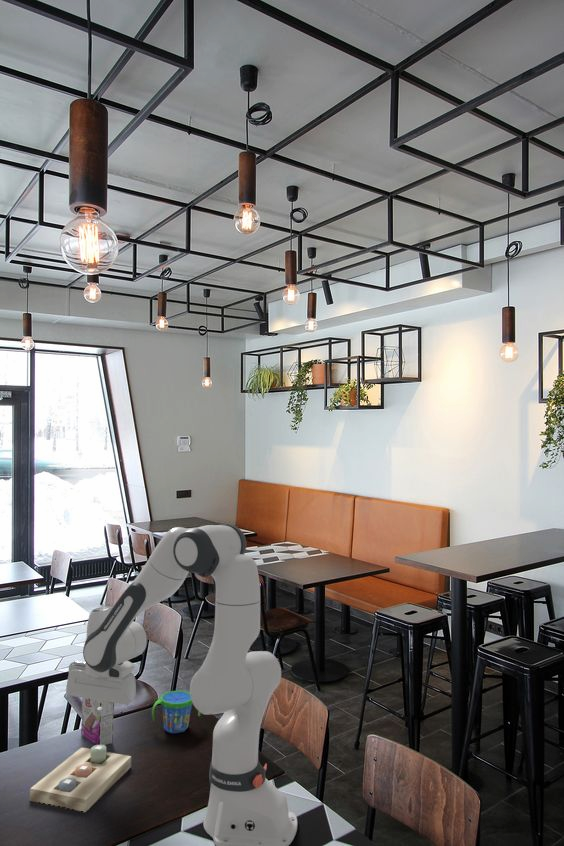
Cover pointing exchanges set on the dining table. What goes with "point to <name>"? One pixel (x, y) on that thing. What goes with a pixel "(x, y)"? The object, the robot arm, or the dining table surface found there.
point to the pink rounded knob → (83, 770)
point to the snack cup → (175, 710)
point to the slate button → (67, 784)
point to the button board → (80, 780)
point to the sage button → (98, 754)
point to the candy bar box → (97, 723)
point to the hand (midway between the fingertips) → (99, 715)
